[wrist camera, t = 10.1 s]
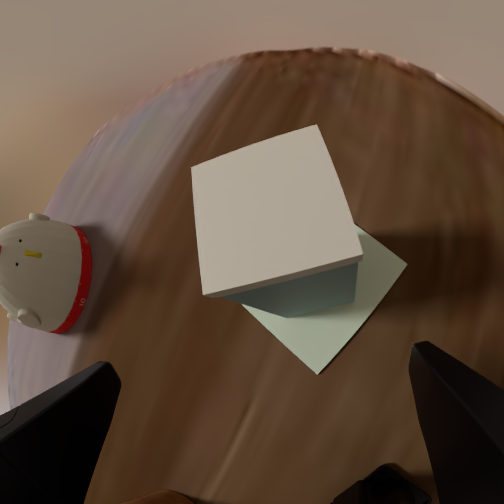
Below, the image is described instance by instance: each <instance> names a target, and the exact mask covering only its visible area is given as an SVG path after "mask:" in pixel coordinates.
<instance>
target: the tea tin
mask: <svg viewBox="0 0 504 504" xmlns="http://www.w3.org/2000/svg"><path fill="white" fill-rule="evenodd" d="M191 170H192V185H193V199H194V211H195V223H196V234H197V244H198V254H199V264H200V273H201V282H202V290H203V295H205V296H208V297H211V298H218V297H223V298H226V299H229V300H232V301H235V302H238V303H241V304H244V305H247V306H250V307H253V308H256V309H259V310H262V311H265V312H268V313H271V314H275V315H278V316H281V317H284V318H288V317H293V316H297V315H301V314H306V313H310V312H314V311H318V310H322V309H326V308H330V307H334V306H338V305H342V304H346V303H350V302H354V299H355V290H356V281H357V271H358V262H360V261H362V259H363V252H362V248H361V245H360V241H359V238H358V235H357V232H356V229H355V225H354V222H353V219H352V216H351V213H350V210H349V207H348V204H347V201H346V198H345V196H344V193H343V190H342V187H341V184H340V182H339V179H338V176H337V173H336V171H335V168H334V166H333V163H332V160H331V158H330V155H329V153H328V150H327V148H326V145H325V143H324V141H323V138H322V136H321V133H320V131H319V129H318V126H317V124H316V125H313V126H309V127H306V128H302V129H299V130H296V131H292V132H289V133H286V134H283V135H279V136H276V137H273V138H270V139H267V140H264V141H261V142H258V143H255V144H252V145H249V146H247V147H244V148H241V149H238V150H235V151H233V152H230V153H227V154H224V155H222V156H219V157H217V158H214V159H211V160H209V161H206V162H204V163H201V164H199V165H196V166H194V167H191Z"/></svg>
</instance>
